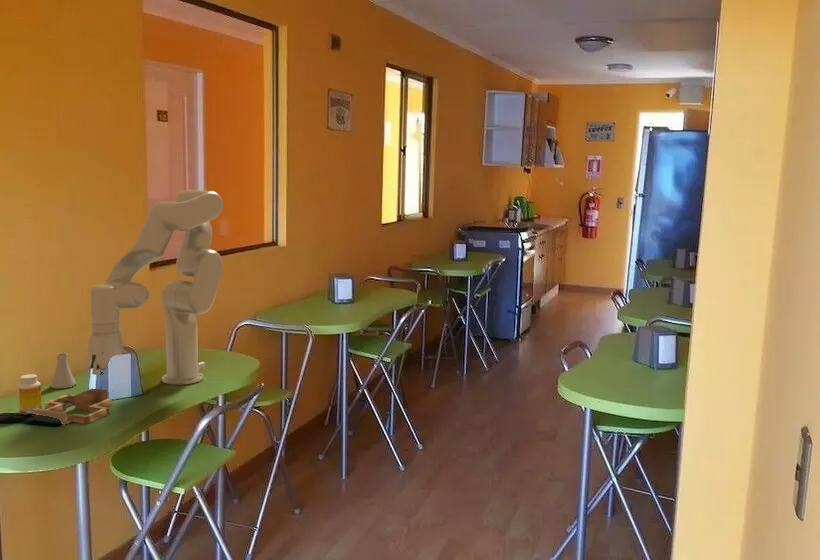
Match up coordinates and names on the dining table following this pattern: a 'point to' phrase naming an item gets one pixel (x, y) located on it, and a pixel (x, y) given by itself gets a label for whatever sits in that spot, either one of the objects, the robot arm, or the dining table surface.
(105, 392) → the walnut block
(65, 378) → the flask
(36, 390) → the supplement bottle
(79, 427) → the dining table surface
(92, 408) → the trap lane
